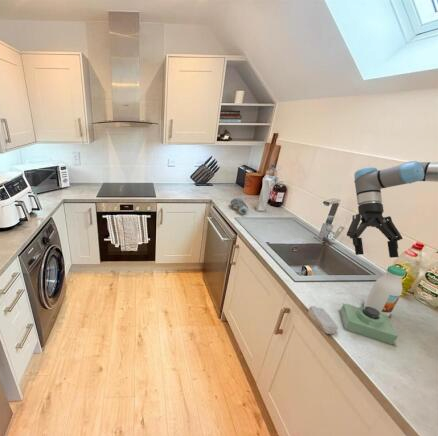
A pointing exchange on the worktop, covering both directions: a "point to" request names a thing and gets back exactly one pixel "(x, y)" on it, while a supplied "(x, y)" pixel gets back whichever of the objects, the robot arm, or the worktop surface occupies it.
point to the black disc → (371, 312)
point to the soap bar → (322, 320)
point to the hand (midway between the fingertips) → (376, 255)
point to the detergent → (239, 205)
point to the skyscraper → (264, 195)
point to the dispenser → (368, 324)
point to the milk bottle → (386, 291)
